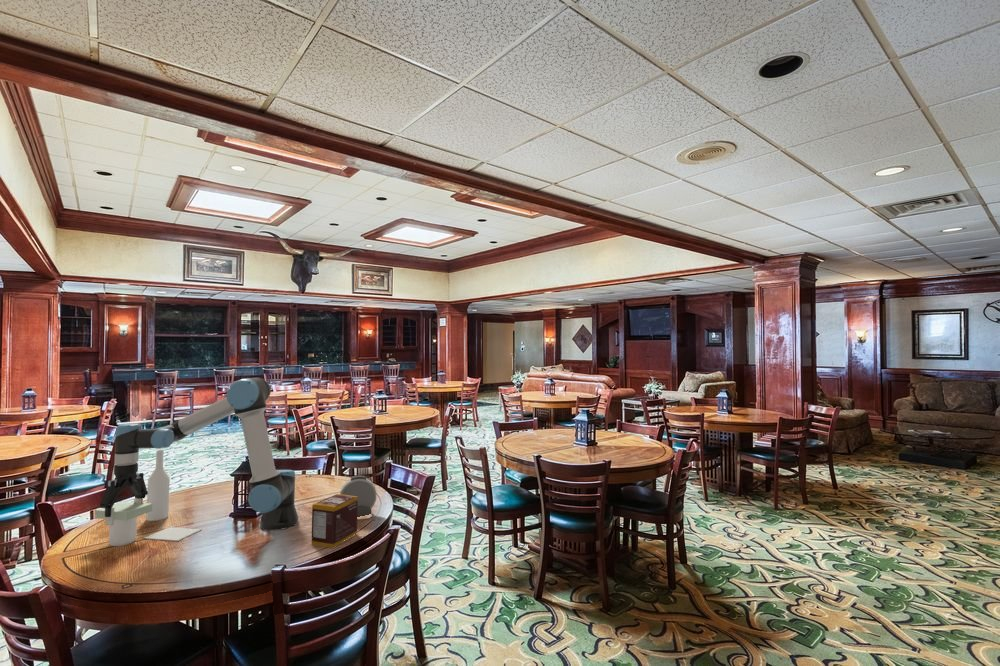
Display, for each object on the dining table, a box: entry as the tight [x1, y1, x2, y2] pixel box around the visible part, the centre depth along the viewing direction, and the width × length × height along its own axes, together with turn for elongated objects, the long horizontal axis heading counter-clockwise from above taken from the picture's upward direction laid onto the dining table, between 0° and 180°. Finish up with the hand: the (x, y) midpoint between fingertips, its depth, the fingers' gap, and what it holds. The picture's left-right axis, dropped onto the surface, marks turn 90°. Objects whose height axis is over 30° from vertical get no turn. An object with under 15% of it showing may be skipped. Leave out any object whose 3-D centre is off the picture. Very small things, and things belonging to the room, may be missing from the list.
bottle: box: [145, 449, 171, 522], centre depth 214 cm, size 8×8×30 cm
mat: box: [144, 526, 202, 542], centre depth 194 cm, size 15×12×1 cm
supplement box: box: [311, 493, 358, 549], centre depth 191 cm, size 10×15×16 cm
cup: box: [108, 516, 138, 547], centre depth 188 cm, size 8×12×10 cm
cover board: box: [94, 501, 152, 520], centre depth 188 cm, size 14×11×3 cm
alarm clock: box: [339, 474, 378, 517], centre depth 218 cm, size 16×10×18 cm, turn 108°
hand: (123, 519), depth 188 cm, fingers closed on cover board, 11 cm apart
